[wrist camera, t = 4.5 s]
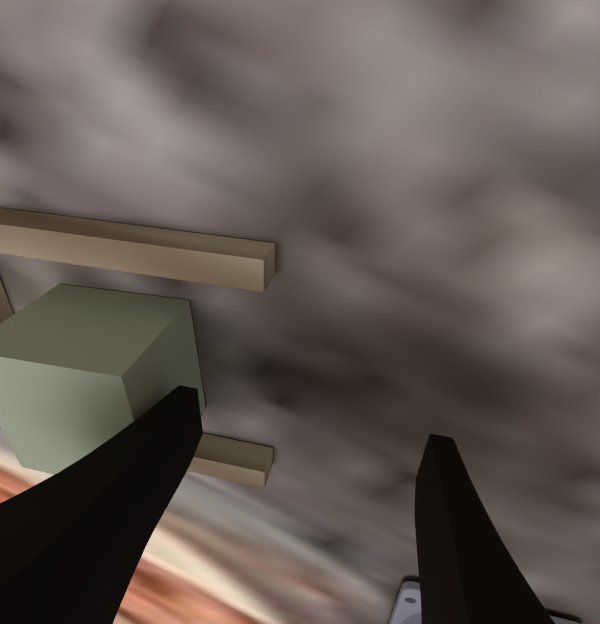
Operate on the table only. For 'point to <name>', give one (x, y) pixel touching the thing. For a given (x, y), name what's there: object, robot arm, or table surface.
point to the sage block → (89, 369)
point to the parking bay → (163, 263)
